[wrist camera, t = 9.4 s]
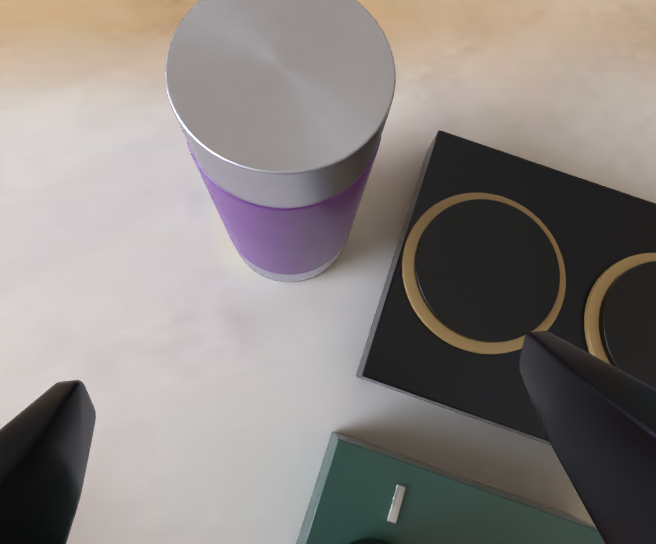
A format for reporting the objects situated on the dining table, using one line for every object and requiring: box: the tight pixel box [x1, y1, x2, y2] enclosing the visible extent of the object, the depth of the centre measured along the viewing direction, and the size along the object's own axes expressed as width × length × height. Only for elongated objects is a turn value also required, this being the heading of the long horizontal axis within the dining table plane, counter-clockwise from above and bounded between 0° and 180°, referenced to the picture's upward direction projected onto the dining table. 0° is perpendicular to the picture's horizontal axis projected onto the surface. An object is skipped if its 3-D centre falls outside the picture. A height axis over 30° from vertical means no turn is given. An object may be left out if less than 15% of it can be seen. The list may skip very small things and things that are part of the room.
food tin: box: [165, 0, 396, 282], centre depth 18 cm, size 6×6×12 cm
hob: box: [356, 131, 656, 445], centre depth 23 cm, size 13×17×3 cm
